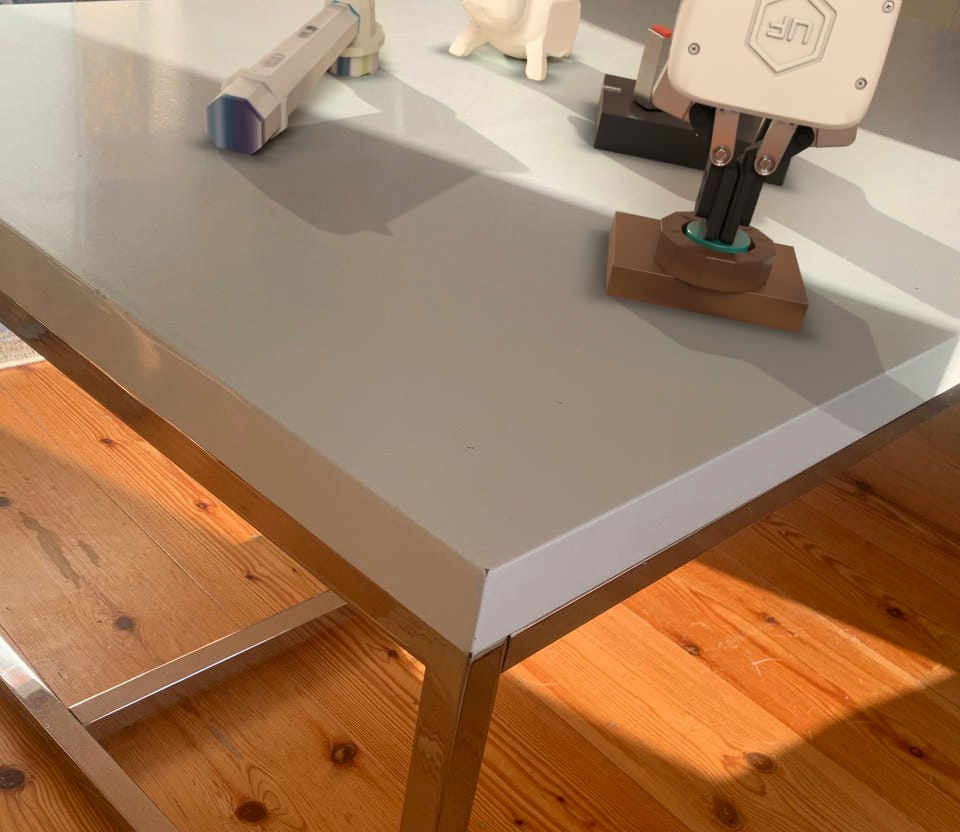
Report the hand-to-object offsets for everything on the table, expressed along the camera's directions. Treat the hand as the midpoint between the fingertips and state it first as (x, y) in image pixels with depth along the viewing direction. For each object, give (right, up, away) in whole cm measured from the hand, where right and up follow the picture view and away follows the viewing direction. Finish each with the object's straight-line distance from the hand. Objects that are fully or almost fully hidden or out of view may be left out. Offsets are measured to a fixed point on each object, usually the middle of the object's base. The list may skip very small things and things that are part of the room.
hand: (716, 232), depth 62 cm
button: (0, -1, +1) cm, 2 cm away
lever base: (+2, +13, +24) cm, 27 cm away
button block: (0, -2, +4) cm, 4 cm away
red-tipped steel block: (+3, +16, +22) cm, 28 cm away
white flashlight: (-26, +14, +18) cm, 34 cm away
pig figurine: (-11, +24, +34) cm, 43 cm away
